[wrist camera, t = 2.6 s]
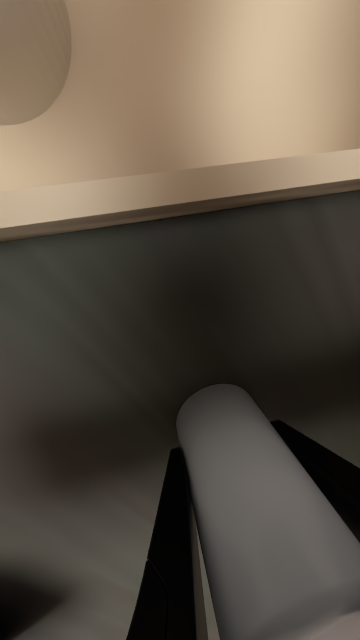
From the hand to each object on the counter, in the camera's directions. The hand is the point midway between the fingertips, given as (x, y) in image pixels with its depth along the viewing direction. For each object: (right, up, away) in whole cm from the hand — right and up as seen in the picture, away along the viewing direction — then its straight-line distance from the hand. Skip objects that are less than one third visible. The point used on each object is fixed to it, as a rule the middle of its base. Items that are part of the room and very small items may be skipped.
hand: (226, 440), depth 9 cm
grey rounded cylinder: (0, 0, +1) cm, 1 cm away
